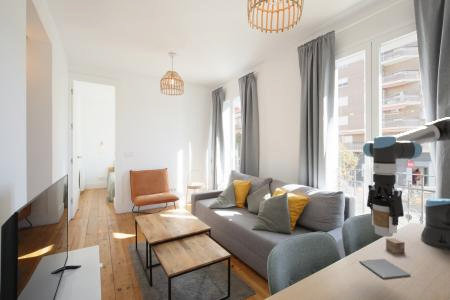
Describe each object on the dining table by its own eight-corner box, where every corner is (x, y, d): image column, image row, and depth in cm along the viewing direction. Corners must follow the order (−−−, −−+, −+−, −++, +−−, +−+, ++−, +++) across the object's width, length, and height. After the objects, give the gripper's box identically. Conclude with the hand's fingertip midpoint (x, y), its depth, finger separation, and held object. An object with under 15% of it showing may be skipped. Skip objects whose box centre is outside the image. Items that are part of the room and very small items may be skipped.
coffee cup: (401, 238, 85) (401, 200, 85) (377, 237, 87) (377, 199, 86) (389, 230, 93) (389, 195, 93) (367, 229, 95) (367, 195, 94)
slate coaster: (383, 260, 97) (383, 258, 97) (410, 275, 85) (410, 274, 85) (359, 262, 95) (359, 260, 95) (383, 278, 83) (383, 277, 83)
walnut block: (394, 247, 108) (395, 237, 108) (404, 252, 104) (404, 242, 103) (386, 248, 108) (386, 238, 108) (395, 253, 103) (395, 243, 103)
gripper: (357, 171, 99) (357, 220, 99) (399, 177, 79) (399, 239, 79) (372, 170, 100) (371, 219, 100) (417, 176, 80) (416, 238, 80)
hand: (383, 228), depth 90 cm, fingers closed on coffee cup, 8 cm apart
